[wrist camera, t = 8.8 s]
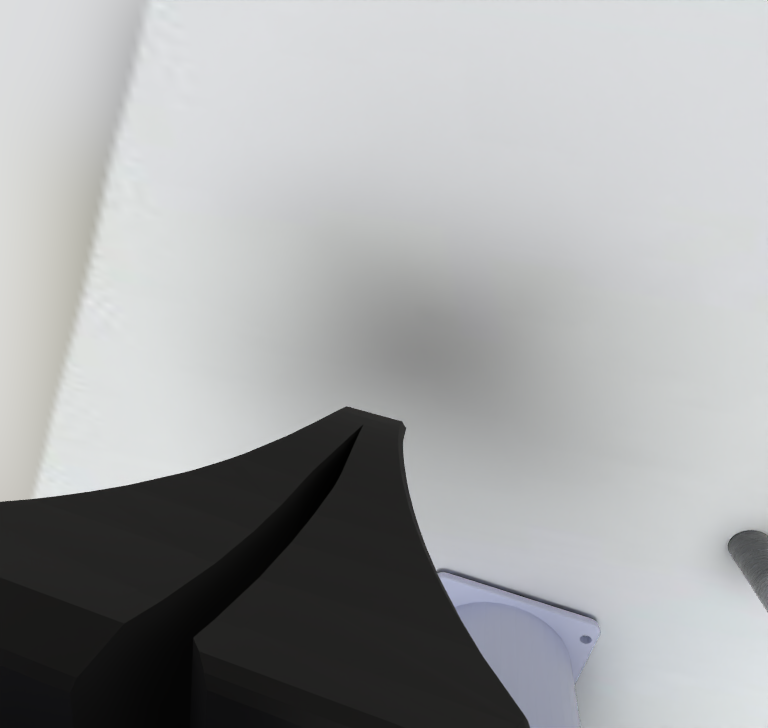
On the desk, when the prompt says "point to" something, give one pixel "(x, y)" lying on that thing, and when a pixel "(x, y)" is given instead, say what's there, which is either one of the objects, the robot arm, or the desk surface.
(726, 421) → the desk surface
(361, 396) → the desk surface
